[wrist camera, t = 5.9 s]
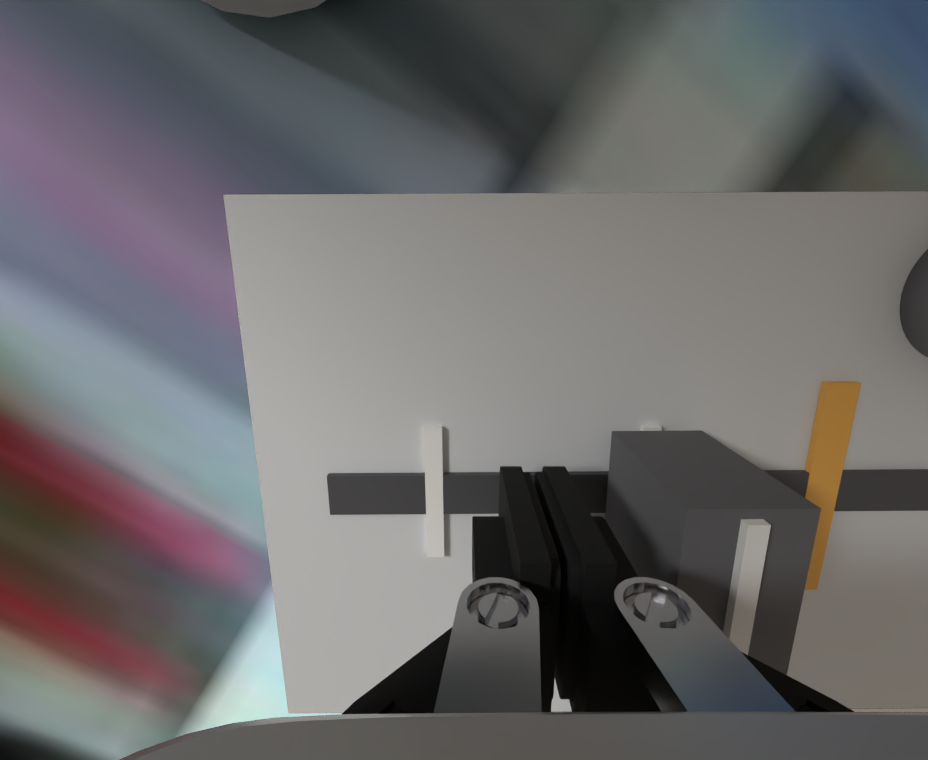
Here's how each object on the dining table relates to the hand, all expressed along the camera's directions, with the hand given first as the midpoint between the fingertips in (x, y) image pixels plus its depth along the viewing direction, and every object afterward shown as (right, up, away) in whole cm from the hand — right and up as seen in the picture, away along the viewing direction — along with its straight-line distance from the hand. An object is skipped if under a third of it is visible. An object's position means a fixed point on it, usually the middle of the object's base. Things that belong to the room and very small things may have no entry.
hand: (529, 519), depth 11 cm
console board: (+4, +1, +3) cm, 5 cm away
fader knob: (+4, 0, +1) cm, 4 cm away
